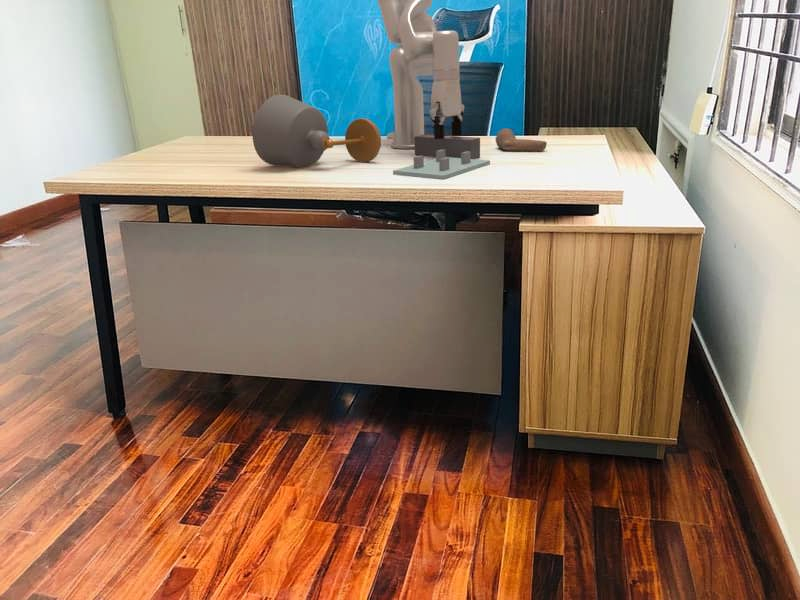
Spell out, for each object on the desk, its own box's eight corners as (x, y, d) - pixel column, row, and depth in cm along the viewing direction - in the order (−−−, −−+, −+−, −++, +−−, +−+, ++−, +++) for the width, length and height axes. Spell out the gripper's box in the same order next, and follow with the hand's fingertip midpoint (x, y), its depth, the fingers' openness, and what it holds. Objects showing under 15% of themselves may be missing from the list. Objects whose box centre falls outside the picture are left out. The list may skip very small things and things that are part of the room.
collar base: (393, 174, 187) (392, 159, 185) (441, 160, 205) (441, 146, 203) (443, 179, 178) (443, 163, 176) (489, 164, 196) (490, 149, 194)
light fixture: (252, 94, 193) (324, 111, 179) (315, 93, 212) (384, 108, 199) (249, 167, 200) (318, 189, 187) (310, 160, 220) (377, 179, 206)
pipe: (545, 137, 208) (550, 127, 216) (490, 136, 213) (496, 126, 221) (545, 158, 211) (549, 147, 219) (490, 156, 216) (497, 146, 225)
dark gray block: (414, 156, 214) (414, 136, 212) (424, 154, 218) (423, 134, 216) (471, 161, 203) (471, 139, 201) (480, 158, 206) (480, 137, 204)
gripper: (451, 75, 210) (452, 133, 216) (418, 78, 197) (421, 140, 203) (472, 74, 206) (474, 133, 212) (441, 77, 193) (443, 140, 199)
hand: (448, 136), depth 207 cm, fingers open, 9 cm apart
